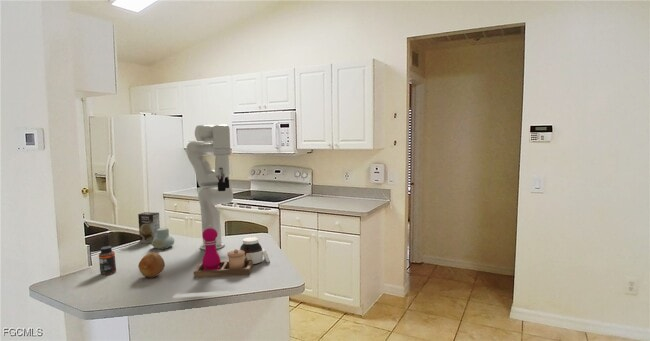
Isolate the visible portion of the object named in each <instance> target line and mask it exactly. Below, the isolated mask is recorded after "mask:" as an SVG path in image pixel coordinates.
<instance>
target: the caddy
mask: <svg viewBox="0 0 650 341" xmlns="http://www.w3.org/2000/svg"><path fill="white" fill-rule="evenodd" d="M244 263H245V268H239V269H229V260H228V261H226V260H225V261H220V264H219V265H218V266H219V267H220V270H204V268H205V267H204V266H203V264H202V262H200V263H199V264H198V265H197V267H195V269H194V271H193V278H194V279H198V278H217V277H234V276H235V277H237V276H250V275H251V271H252V268H253V266H254V265H253V263H252V260H244Z"/></svg>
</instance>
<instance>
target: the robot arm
mask: <svg viewBox="0 0 650 341" xmlns="http://www.w3.org/2000/svg"><path fill="white" fill-rule="evenodd" d="M194 137H195V140H193V141H189V142H188V143H187V145H186V155H187V158H188V161H189V162H190V164H191V165H192V167H193V168H194V172H195V177H196V181H197V184H198V186H199V187H200V188H201V189H199V191H198V193H197V194H198V195H197V197H198V201H199V207H200V216H201V217H200V218H201V235H202V234H203V231H204V230H206V229H208V228H207V226H208V225H211V226H212V228H213V229H215V230H216V231H217V234H218V235H217V238H216V240H217V241H216V242H217V243H216V250H217V249H222V248H224V247H225V246H226V243H225V242H224V241H222V224H221V223H222V222H221V219H222V218H221V212H220V210H219V209H218V208H217V207H216V205H217V206H218V205H225V204H226V205H227V204H230V203H232V202H233V200H234V193H233V188H232V186H231V181H230V158H229V156H231V155H232V154H231V153H232V152H231V132H230V126H229V125H227V124H201V125H196V126H195V129H194ZM205 156H206V157H208V156H212V157H215V158H214V169H212V167H211V164H210V162H209V161H208V160H207V159H205V158H204V157H205ZM205 248H206V247H205V244H204V239H203V237H202V243H201V244H200V245H199V249H201V250H204V251H205Z"/></svg>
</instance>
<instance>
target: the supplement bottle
mask: <svg viewBox="0 0 650 341" xmlns="http://www.w3.org/2000/svg"><path fill="white" fill-rule="evenodd" d="M98 261H99V262H98V264H99V273H100V275H102V276H106V275H107V276H108V275H112V274H115V273H116V272H117V265H116V255H115V251H113V249H112V246H111V245H109V246H108V245H107V246H102V247H101V248H100V252H99V254H98Z"/></svg>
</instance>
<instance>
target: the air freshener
mask: <svg viewBox="0 0 650 341" xmlns="http://www.w3.org/2000/svg"><path fill="white" fill-rule="evenodd" d="M169 229H170V228H168V227H160V228H159V229H157V230H156V231H157V237H156V238H155V239H154V240H153V241H152V243H151V246H152V247H153V248H155V249H157V250H165V249H167V248H170V247H172V246H173V245H174V243H175V238H174V237H173V236H171V235H170V230H169Z"/></svg>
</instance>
